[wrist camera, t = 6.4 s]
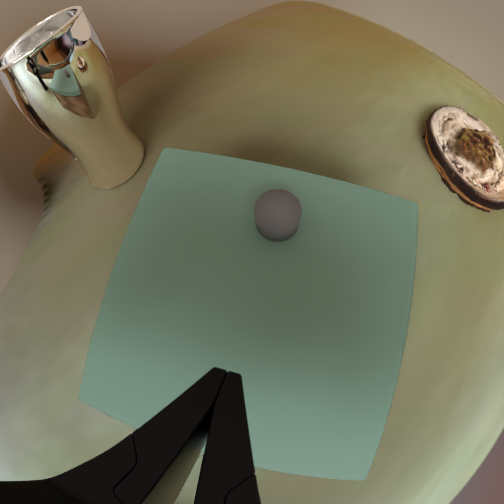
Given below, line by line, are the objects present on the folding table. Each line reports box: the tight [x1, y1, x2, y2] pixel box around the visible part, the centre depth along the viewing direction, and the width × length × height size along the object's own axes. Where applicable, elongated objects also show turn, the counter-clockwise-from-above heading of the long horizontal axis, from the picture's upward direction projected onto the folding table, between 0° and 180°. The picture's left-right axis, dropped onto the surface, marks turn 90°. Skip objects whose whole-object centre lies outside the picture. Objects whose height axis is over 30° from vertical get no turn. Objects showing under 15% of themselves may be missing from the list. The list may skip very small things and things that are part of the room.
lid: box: [78, 147, 418, 481], centre depth 12 cm, size 14×14×2 cm
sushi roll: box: [423, 106, 504, 212], centre depth 22 cm, size 15×15×4 cm
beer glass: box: [0, 6, 144, 189], centre depth 17 cm, size 7×7×15 cm
